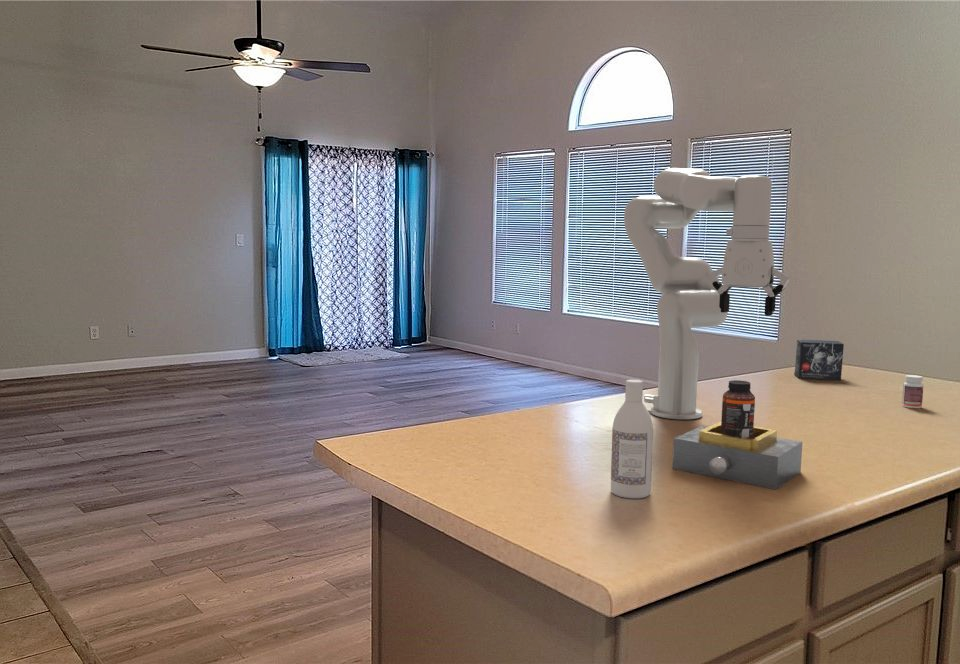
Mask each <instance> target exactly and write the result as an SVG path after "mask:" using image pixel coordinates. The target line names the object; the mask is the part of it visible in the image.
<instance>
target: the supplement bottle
mask: <svg viewBox="0 0 960 664" xmlns="http://www.w3.org/2000/svg"><path fill="white" fill-rule="evenodd" d="M727 386H728V387H727V388H728V390H727V391H725V392H724V393H723V395H722V403H721V421H720V422H721V434H725V435H731V436H737V437H743V438H749V439H753V427H754V424H755V422H754V421H755V406H756V401H755V400H756V397H755V394H753V393H752V391H751V382H750V381H746V380H737V379H735V380H728V385H727Z"/></svg>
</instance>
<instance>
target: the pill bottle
mask: <svg viewBox="0 0 960 664" xmlns="http://www.w3.org/2000/svg"><path fill="white" fill-rule="evenodd" d="M923 381H924V380H923V376H920V375H913V374H907V375H905V382H904V383H903V386H902V398H901V399H902V400H901V401H902V402H901V403H902V404H901V405H902V407H903V408H908V409H921V408H923V397H924V384H923Z"/></svg>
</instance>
